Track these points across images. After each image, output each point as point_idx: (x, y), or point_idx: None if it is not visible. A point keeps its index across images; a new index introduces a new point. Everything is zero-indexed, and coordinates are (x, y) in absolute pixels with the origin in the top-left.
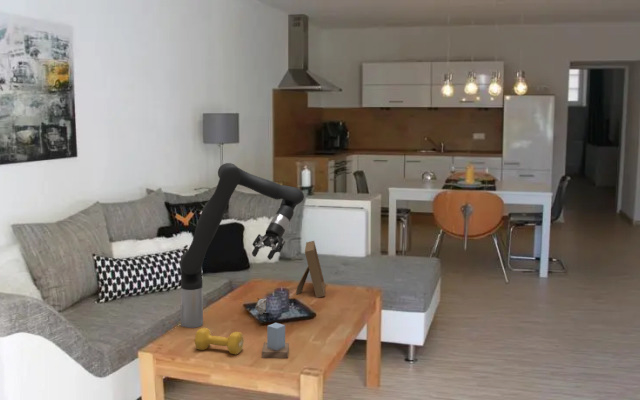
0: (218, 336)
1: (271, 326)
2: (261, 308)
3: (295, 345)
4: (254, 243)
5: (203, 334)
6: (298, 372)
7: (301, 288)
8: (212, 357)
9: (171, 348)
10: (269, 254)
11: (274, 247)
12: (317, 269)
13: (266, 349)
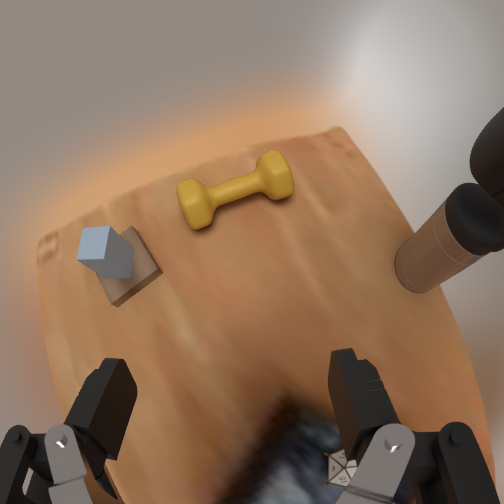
0: (237, 183)
1: (99, 230)
2: (343, 449)
3: (116, 332)
4: (451, 450)
5: (260, 156)
6: (59, 229)
7: None
8: (220, 172)
9: (319, 154)
10: (99, 378)
11: (52, 461)
12: None
13: (130, 241)
